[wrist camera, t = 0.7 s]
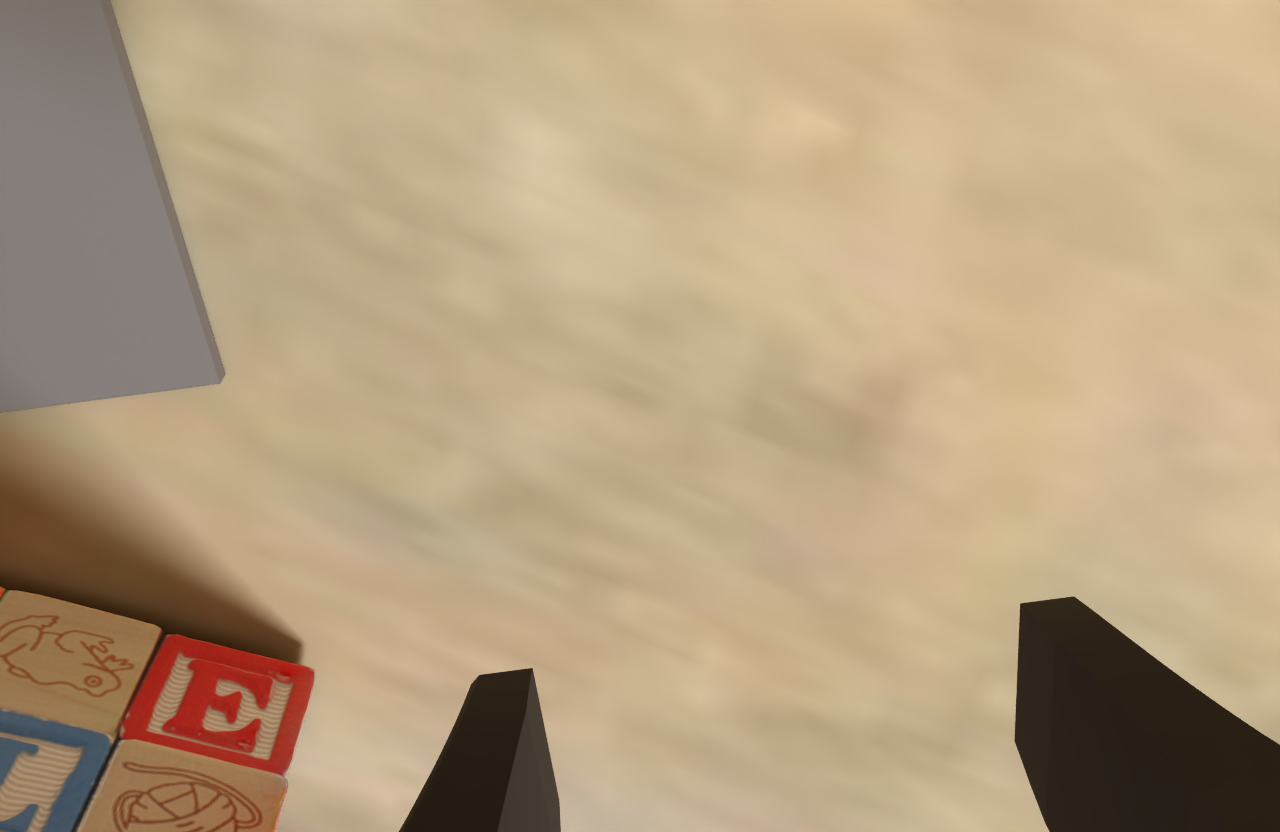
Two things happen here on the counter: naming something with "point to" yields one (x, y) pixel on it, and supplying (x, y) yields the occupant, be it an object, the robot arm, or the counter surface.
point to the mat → (87, 222)
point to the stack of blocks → (138, 725)
